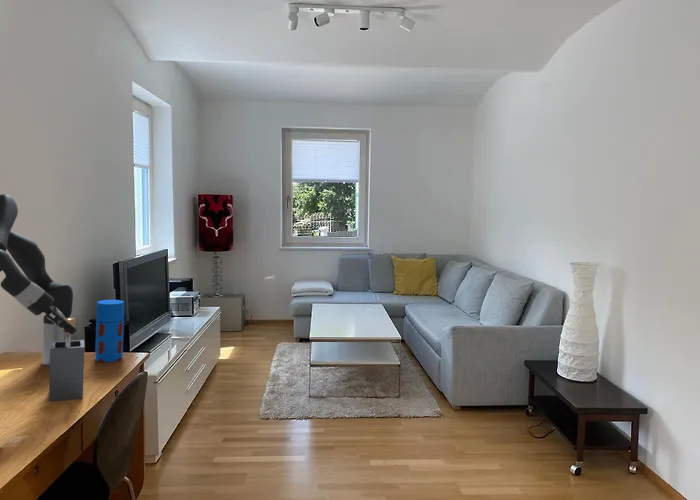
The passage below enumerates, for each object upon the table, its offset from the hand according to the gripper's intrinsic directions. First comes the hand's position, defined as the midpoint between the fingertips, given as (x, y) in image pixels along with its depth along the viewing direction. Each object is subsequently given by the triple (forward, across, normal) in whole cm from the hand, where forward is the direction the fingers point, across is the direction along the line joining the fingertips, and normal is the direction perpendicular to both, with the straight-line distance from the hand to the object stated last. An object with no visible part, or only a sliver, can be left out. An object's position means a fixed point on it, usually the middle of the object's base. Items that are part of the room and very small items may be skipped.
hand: (72, 329), depth 170 cm
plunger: (+14, 0, -16) cm, 22 cm away
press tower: (+15, 0, -17) cm, 23 cm away
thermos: (+30, -38, -4) cm, 48 cm away
